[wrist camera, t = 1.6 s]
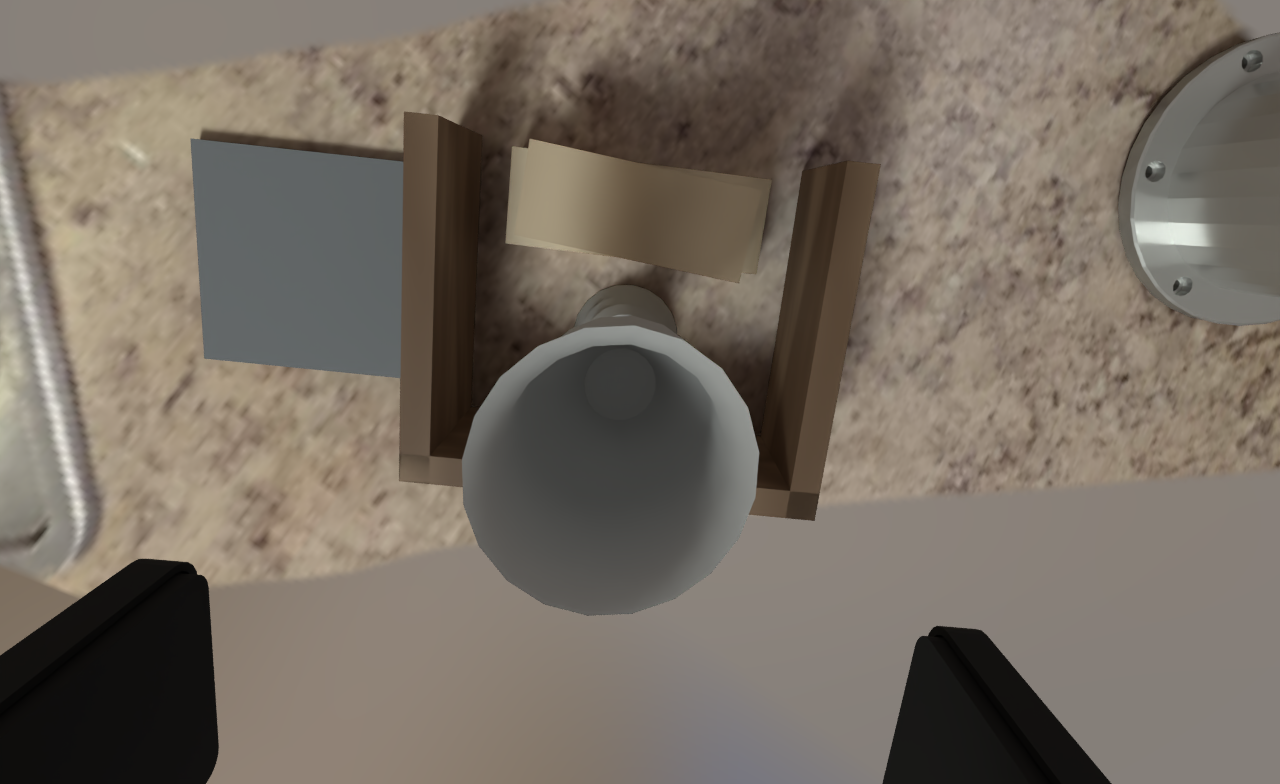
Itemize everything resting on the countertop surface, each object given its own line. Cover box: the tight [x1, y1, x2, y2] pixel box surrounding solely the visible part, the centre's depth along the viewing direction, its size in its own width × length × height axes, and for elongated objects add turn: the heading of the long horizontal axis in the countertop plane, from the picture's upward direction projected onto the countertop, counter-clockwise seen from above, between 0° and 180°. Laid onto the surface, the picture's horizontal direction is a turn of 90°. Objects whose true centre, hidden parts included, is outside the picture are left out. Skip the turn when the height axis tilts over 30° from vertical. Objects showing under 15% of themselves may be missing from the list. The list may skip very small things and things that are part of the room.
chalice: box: [462, 285, 759, 616], centre depth 25 cm, size 7×7×18 cm
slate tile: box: [191, 139, 403, 378], centre depth 32 cm, size 10×10×1 cm
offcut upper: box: [514, 139, 762, 283], centre depth 28 cm, size 9×4×3 cm, turn 78°
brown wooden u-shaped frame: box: [399, 112, 881, 521], centre depth 29 cm, size 17×14×7 cm
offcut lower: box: [506, 146, 772, 274], centre depth 31 cm, size 11×4×3 cm, turn 83°
